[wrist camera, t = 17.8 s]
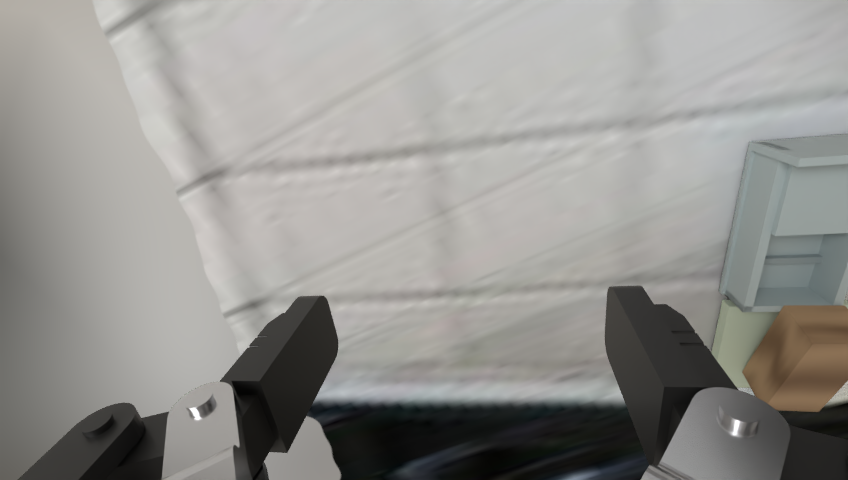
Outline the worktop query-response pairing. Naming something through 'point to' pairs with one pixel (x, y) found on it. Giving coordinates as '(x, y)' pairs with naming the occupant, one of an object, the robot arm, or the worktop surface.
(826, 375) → the walnut bar
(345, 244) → the worktop surface
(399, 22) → the worktop surface
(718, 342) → the plate
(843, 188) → the pale blue tray
